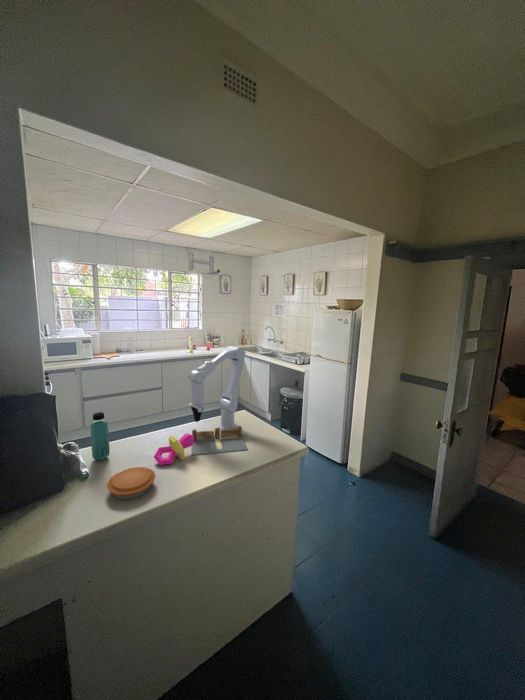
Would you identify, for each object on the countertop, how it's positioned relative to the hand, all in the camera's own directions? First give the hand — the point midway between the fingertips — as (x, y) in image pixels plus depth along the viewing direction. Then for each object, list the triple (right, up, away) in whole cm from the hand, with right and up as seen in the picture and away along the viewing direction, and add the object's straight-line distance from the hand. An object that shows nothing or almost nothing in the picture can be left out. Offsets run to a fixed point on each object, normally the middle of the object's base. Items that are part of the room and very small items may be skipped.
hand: (197, 421), depth 138 cm
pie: (-14, -14, -40) cm, 44 cm away
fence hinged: (+4, -8, -3) cm, 9 cm away
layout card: (+11, -9, -5) cm, 16 cm away
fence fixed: (+15, -9, +1) cm, 18 cm away
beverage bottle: (-35, -11, -22) cm, 43 cm away
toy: (-5, -11, -18) cm, 22 cm away
